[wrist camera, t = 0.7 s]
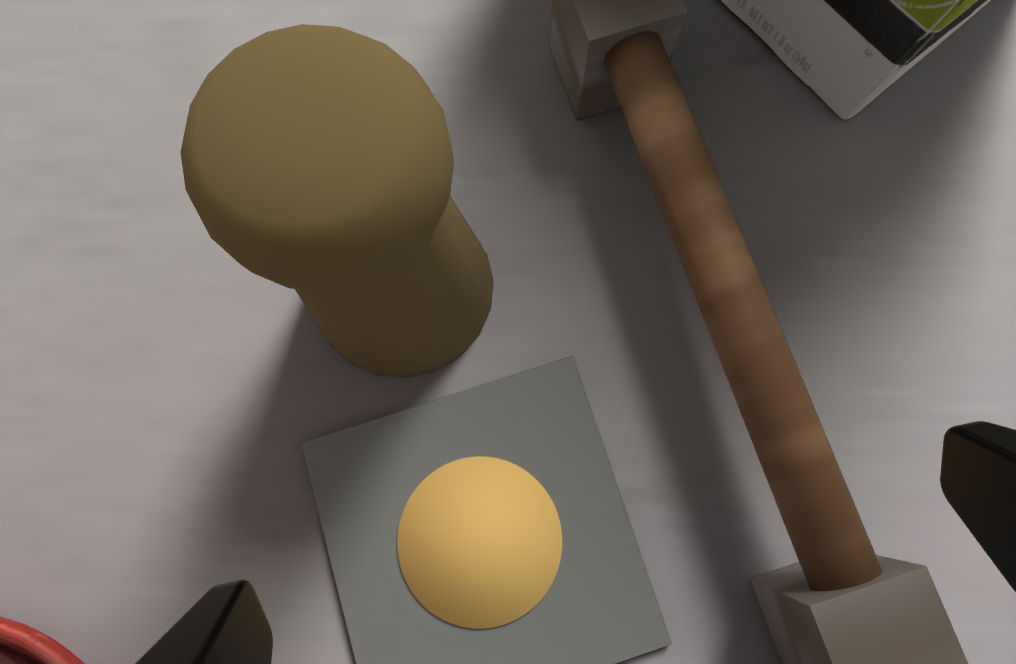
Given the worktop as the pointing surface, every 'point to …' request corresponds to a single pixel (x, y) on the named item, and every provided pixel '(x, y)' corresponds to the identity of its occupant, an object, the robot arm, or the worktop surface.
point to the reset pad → (484, 531)
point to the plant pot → (30, 646)
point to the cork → (340, 194)
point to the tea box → (852, 40)
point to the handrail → (752, 358)
